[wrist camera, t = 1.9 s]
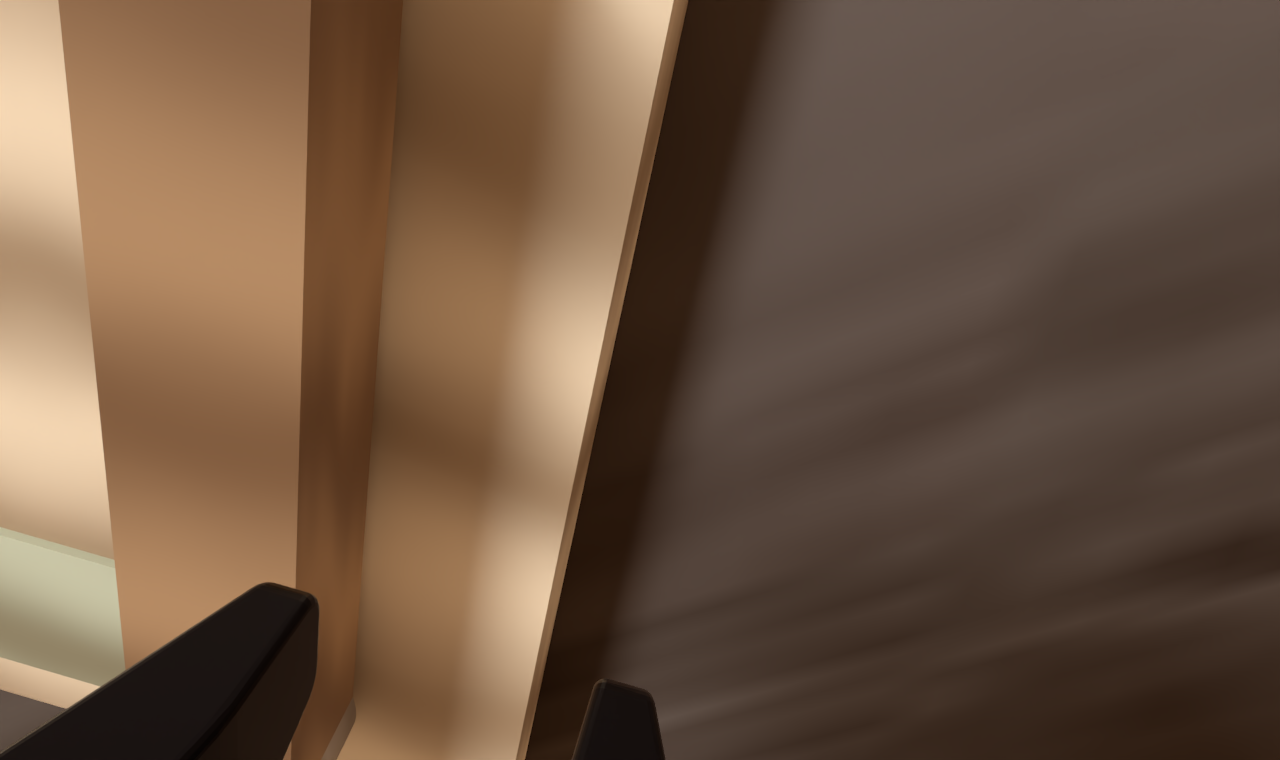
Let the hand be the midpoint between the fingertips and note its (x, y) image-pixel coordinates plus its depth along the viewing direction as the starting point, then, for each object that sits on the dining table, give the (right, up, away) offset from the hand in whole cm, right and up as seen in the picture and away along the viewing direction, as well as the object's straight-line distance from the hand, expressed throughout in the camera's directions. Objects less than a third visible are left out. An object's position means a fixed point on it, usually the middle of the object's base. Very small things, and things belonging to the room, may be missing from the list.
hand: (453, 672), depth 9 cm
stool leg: (-5, +2, +11) cm, 12 cm away
